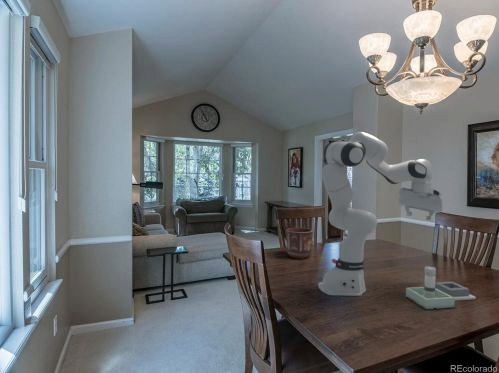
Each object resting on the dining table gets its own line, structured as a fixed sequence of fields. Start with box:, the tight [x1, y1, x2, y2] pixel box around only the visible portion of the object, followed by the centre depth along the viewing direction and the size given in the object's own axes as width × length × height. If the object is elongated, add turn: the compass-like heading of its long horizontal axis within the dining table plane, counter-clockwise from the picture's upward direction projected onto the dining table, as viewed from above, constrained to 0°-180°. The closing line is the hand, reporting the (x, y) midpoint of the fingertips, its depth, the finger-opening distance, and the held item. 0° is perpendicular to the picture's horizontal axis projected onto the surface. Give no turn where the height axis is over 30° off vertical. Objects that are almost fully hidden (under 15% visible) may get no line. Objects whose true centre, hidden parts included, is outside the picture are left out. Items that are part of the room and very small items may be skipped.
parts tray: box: [405, 286, 456, 310], centre depth 133 cm, size 13×13×4 cm
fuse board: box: [435, 281, 477, 301], centre depth 141 cm, size 13×13×4 cm
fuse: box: [423, 265, 437, 299], centre depth 132 cm, size 4×4×14 cm
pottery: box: [285, 227, 314, 260], centre depth 204 cm, size 18×18×18 cm
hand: (418, 217), depth 148 cm, fingers open, 8 cm apart
